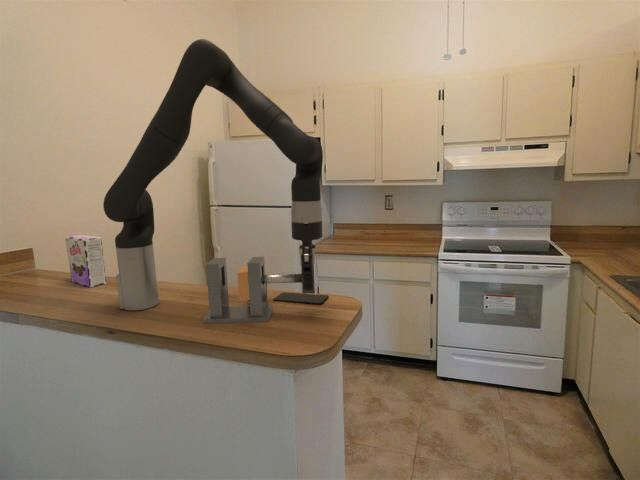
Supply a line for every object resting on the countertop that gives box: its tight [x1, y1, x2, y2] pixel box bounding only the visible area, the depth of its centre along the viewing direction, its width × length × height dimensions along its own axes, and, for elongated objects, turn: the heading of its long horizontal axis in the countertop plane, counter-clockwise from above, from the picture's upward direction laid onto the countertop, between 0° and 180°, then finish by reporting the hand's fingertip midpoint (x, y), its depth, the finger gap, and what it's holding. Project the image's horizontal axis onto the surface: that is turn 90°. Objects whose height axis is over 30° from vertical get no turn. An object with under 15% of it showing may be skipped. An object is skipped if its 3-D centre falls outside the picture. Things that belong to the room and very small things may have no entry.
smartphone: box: [273, 292, 329, 306], centre depth 110 cm, size 7×1×15 cm
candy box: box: [65, 234, 107, 288], centre depth 132 cm, size 14×6×16 cm, turn 55°
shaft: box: [262, 264, 316, 294], centre depth 96 cm, size 18×3×7 cm, turn 90°
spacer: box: [237, 265, 250, 301], centre depth 96 cm, size 2×7×7 cm, turn 0°
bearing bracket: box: [202, 256, 274, 324], centre depth 97 cm, size 16×9×14 cm, turn 90°
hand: (308, 287), depth 97 cm, fingers closed on shaft, 3 cm apart
